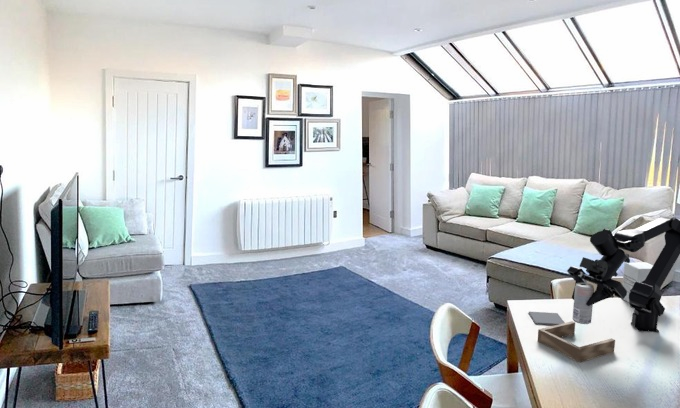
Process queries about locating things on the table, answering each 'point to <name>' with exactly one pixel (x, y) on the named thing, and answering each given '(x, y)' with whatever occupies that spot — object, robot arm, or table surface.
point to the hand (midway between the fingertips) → (579, 302)
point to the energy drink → (582, 303)
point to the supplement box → (634, 275)
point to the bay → (579, 354)
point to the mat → (546, 318)
